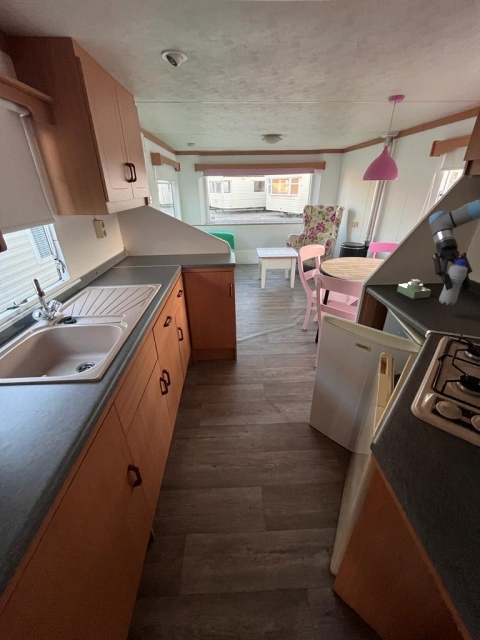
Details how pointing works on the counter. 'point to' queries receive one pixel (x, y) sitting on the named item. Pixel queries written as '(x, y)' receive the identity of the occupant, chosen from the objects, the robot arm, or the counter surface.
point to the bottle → (454, 283)
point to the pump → (416, 282)
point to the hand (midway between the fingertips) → (458, 288)
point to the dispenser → (414, 290)
